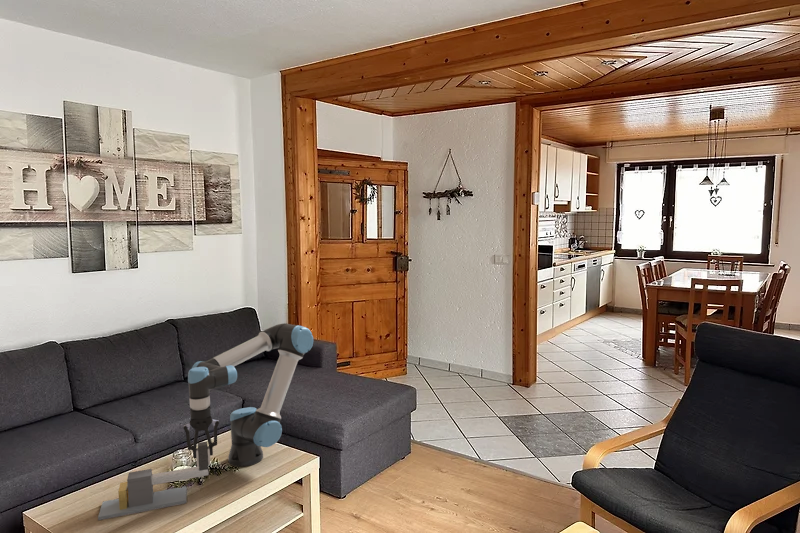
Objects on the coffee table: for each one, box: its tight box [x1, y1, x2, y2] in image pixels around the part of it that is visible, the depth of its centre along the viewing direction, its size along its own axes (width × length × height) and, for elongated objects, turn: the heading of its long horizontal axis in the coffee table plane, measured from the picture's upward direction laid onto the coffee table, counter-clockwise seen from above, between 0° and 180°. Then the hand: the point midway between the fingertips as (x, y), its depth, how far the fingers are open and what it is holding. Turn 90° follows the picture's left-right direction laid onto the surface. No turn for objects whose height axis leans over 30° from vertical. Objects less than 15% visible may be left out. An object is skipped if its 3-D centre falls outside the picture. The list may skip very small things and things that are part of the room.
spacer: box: [117, 481, 129, 510], centre depth 207 cm, size 2×7×7 cm, turn 21°
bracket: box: [97, 468, 188, 521], centre depth 209 cm, size 30×12×12 cm, turn 111°
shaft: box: [151, 441, 210, 486], centre depth 212 cm, size 26×4×12 cm, turn 111°
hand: (203, 464), depth 217 cm, fingers closed on shaft, 3 cm apart
